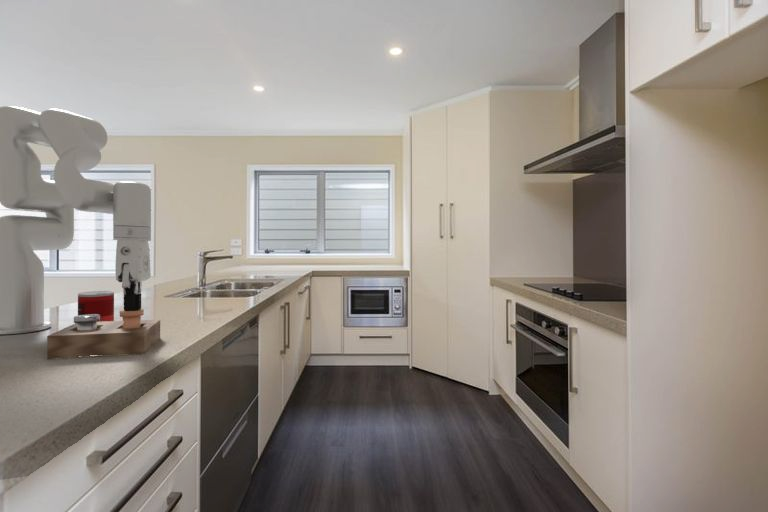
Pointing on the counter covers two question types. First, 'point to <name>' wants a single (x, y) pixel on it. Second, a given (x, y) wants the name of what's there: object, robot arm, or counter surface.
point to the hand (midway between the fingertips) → (132, 310)
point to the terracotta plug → (131, 318)
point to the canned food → (97, 304)
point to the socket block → (103, 340)
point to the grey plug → (87, 321)
